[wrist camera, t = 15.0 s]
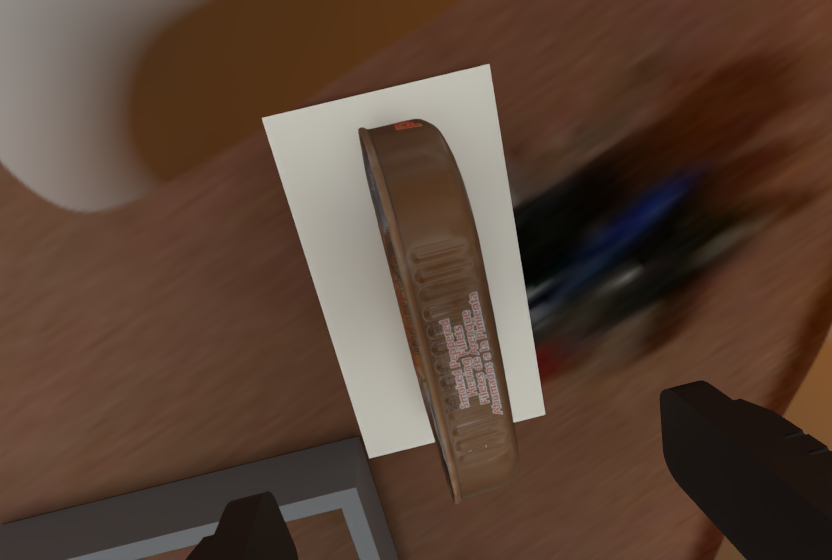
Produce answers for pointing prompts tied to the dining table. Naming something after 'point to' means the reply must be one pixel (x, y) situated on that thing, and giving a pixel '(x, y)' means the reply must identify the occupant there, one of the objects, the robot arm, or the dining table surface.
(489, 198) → the cream board
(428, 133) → the tin
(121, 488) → the dining table surface
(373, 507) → the bin
